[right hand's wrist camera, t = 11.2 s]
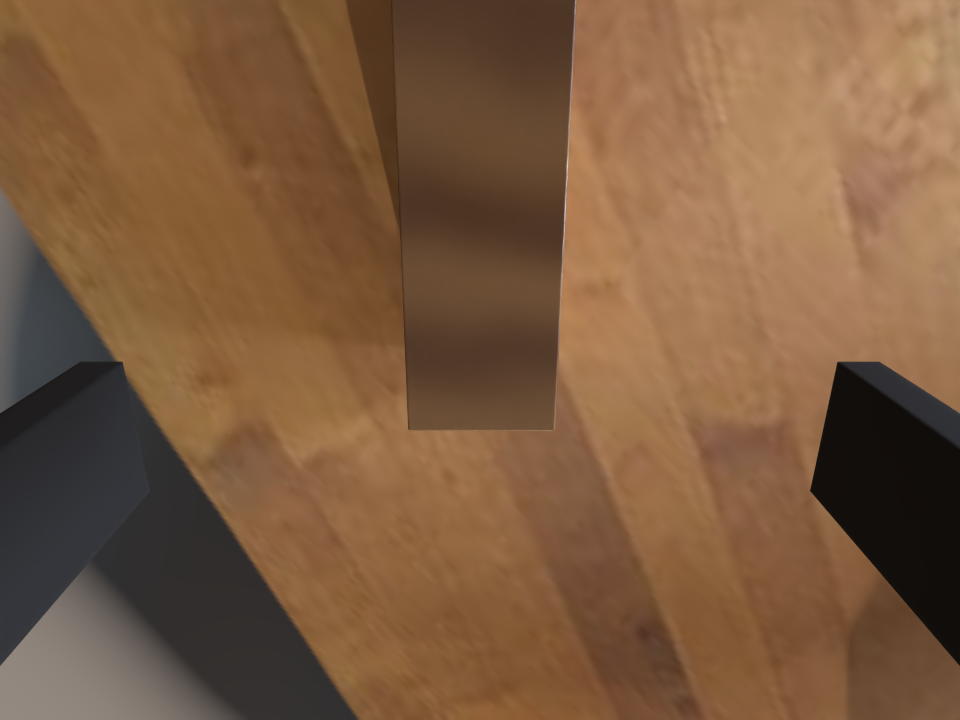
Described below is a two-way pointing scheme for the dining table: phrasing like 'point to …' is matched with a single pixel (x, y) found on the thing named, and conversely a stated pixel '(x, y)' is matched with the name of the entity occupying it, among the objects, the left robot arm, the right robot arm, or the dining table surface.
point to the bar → (482, 206)
